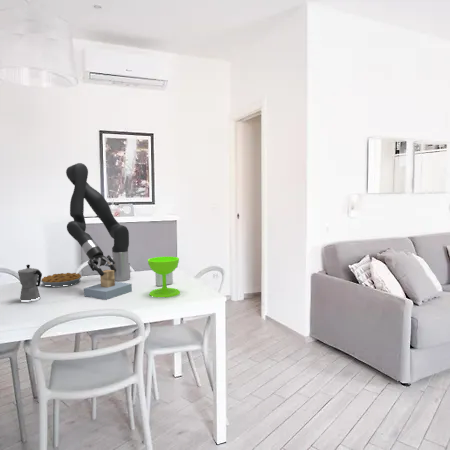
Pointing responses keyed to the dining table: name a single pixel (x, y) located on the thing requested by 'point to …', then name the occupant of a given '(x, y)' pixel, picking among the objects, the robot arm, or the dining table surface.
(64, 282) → the pie
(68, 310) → the dining table surface
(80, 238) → the robot arm
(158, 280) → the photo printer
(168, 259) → the wineglass
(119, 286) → the block
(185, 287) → the dining table surface
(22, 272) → the coffeepot
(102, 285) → the oak block
